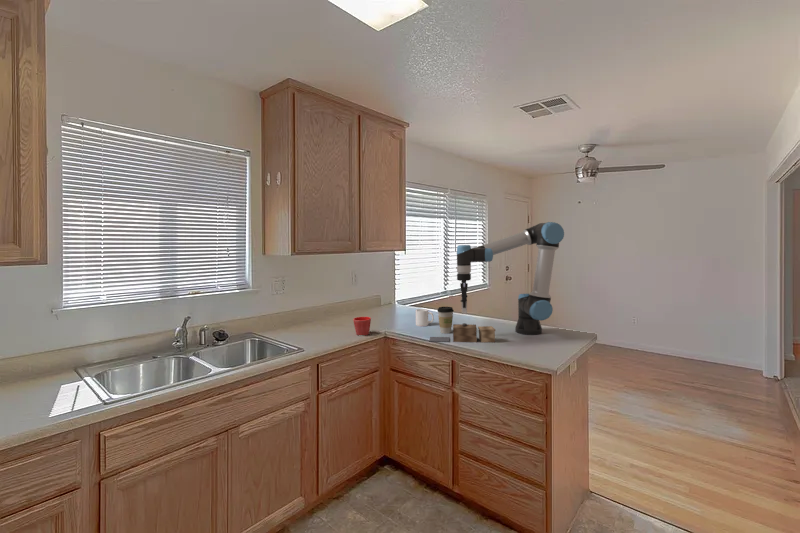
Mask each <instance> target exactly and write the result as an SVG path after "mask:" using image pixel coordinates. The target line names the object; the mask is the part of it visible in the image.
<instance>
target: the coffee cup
mask: <svg viewBox="0 0 800 533" xmlns="http://www.w3.org/2000/svg"><path fill="white" fill-rule="evenodd" d="M453 313H454V308H453V306H438V307H437V316H438V324H439V329H440V330H439V331H440V333H441V334H451V333H452V328H453V317H454V314H453Z"/></svg>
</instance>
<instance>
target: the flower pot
mask: <svg viewBox="0 0 800 533" xmlns="http://www.w3.org/2000/svg"><path fill="white" fill-rule="evenodd" d="M352 321H353V326H354V329H355V335H356V336H359V335H364V336H368V335H369V334H370V329H371V321H372V318H371V317H370V316H358V317H356V316H355V317H353V319H352Z"/></svg>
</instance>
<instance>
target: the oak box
mask: <svg viewBox="0 0 800 533" xmlns="http://www.w3.org/2000/svg"><path fill="white" fill-rule="evenodd" d="M477 328H478V340H479V342H481V343H495V342H496V341H495V340H496V338H495V336H496V328H494V326H491V325H490V326H488V325H486V326H477Z"/></svg>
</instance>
